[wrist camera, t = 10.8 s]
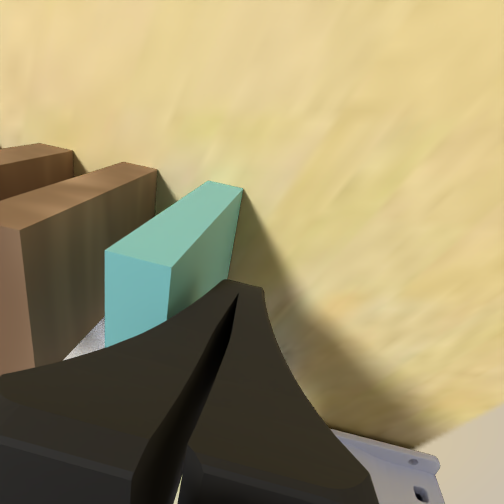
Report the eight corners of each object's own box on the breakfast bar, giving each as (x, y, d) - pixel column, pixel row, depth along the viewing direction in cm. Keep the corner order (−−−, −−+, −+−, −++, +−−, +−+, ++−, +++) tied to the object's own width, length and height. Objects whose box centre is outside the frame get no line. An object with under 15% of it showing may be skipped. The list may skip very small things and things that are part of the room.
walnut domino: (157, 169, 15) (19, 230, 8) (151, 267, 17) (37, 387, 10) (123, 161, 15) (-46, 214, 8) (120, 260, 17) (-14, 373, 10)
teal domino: (243, 188, 15) (171, 267, 8) (226, 285, 17) (157, 420, 10) (208, 180, 15) (104, 250, 8) (195, 277, 17) (104, 404, 10)
